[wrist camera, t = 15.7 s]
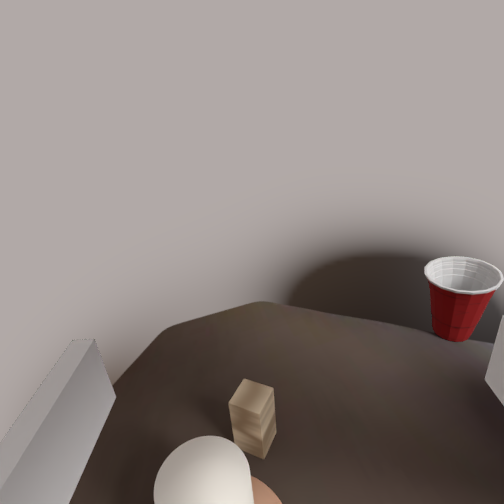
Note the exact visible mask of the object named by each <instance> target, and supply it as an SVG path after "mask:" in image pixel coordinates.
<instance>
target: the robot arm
mask: <svg viewBox="0 0 504 504" xmlns="http://www.w3.org/2000/svg"><path fill="white" fill-rule="evenodd" d="M485 381H486V382H487V384H488V385H489V386H490V388H491V389H492V391H493V392H494V393H495V395H496V396H497V397H498V399H499V400H500V401H501V403H502V404H503V406H504V315H503V316H502V320H501V323H500V327H499V330H498V334H497V338H496V341H495V344H494V348H493V351H492V355H491V358H490V362H489V365H488V369H487V372H486V376H485ZM115 399H116V395H115V393H114V390H113V387H112V385H111V382H110V379H109V377H108V374H107V371H106V369H105V366H104V363H103V360H102V358H101V355H100V353H99V350H98V347H97V344H96V342H95V339H84V340H72V341H71V343H70V344H69V346H68V347H67V348H66V350H65V351H64V353H63V354H62V356H61V357H60V358H59V360H58V361H57V363H56V364H55V365H54V367H53V368H52V370H51V371H50V373H49V374H48V375H47V377H46V378H45V380H44V381H43V383H42V384H41V385H40V387H39V388H38V390H37V391H36V392H35V394H34V395H33V397H32V398H31V400H30V401H29V403H28V404H27V405H26V407H25V408H24V410H23V411H22V413H21V414H20V415H19V417H18V418H17V420H16V421H15V422H14V424H13V425H12V427H11V428H10V429H9V431H8V432H7V434H6V435H5V437H4V438H3V439H2V441H1V442H0V504H69V502H70V500H71V498H72V495H73V493H74V491H75V489H76V486H77V484H78V482H79V480H80V477H81V475H82V473H83V471H84V468H85V466H86V464H87V462H88V459H89V457H90V455H91V453H92V450H93V448H94V446H95V444H96V441H97V439H98V437H99V435H100V432H101V430H102V428H103V426H104V423H105V421H106V419H107V417H108V414H109V412H110V410H111V408H112V405H113V403H114V401H115Z"/></svg>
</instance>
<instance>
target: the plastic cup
mask: <svg viewBox="0 0 504 504" xmlns="http://www.w3.org/2000/svg"><path fill="white" fill-rule="evenodd" d="M425 276H426V277H427V279H428V283H429V288H430V296H431V314H432V327H433V330H434V332H435V333H436V334H437V335H438V336H440V337H441V338H444V339H446V340H449V341H454V342H461V341H465V340H467V339H468V338H469V337H470V335H471V334H472V332H473V330H474V328H475V326H476V325H477V323H478V322H479V320H480V318H481V316H482V314H483V312H484V310H485V308H486V306H487V304H488V302H489V300H490V298H491V297H492V295H493V294H494V292H495V290H496V289H498V288H499V286H500V285H501V283H502V282H503V280H504V278H503V275H502V272H501V271H499V270H498V269H497V268H496V267H495V266H494V265H491V264H489V263H487V262H484V261H482V260H478V259H474V258H469V257H456V256H451V257H443V258H438V259H436V260H433V261H430V262H429V263H428V264H427V265H426V266H425Z"/></svg>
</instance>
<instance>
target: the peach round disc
mask: <svg viewBox="0 0 504 504" xmlns="http://www.w3.org/2000/svg"><path fill="white" fill-rule="evenodd" d="M251 483H252V491H253V499H254V504H282V503H281V501H280V500H279V498H278V497H277V496H276V494H275V493H274V492H273V491H272V490H271V489H270V488H269V487H268V486H267V485H265V484H264V483H263V482H261V481H260V480H258V479H257V478H255V477H252V476H251Z"/></svg>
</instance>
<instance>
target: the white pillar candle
mask: <svg viewBox="0 0 504 504" xmlns="http://www.w3.org/2000/svg"><path fill="white" fill-rule="evenodd" d="M154 502H155V504H254V499H253V491H252V483H251V475H250V469H249V464H248V461H247V459H246V457H245V455H244V453H243V452H242V450H241V449H240V448H239V447H238V446H237V445H236V444H235V443H233V442H231V441H230V440H228V439H225V438H222V437H218V436H202V437H197V438H194V439H191V440H189V441H187V442H185V443H184V444H182V445H180V446H179V447H178V448H176V449H175V450H174V451H173V452H172V453H171V454H170V455H169V456H168V457H167V459H166V460H165V461H164V463H163V464H162V466H161V468H160V470H159V472H158V474H157V477H156V480H155V485H154Z"/></svg>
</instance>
